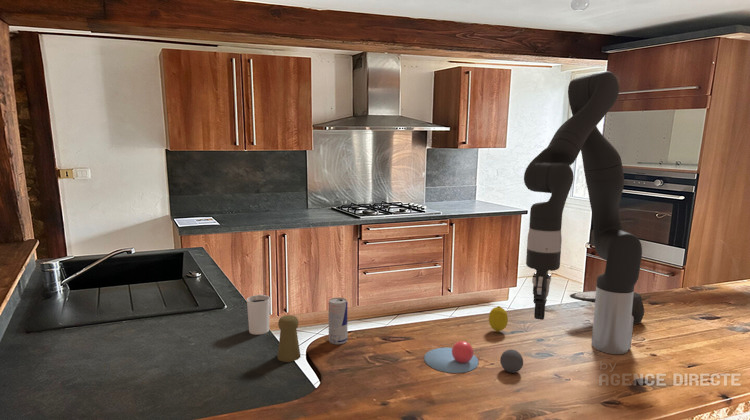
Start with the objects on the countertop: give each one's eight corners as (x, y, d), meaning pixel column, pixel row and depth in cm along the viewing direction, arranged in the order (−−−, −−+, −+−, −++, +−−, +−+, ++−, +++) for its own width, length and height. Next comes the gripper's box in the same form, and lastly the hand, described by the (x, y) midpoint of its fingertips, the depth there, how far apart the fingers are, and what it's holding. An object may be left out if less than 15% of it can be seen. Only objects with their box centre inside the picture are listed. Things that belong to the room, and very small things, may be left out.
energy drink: (350, 339, 137) (350, 299, 135) (341, 346, 132) (341, 304, 130) (334, 335, 139) (334, 296, 137) (325, 342, 134) (324, 301, 133)
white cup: (259, 337, 138) (258, 303, 136) (242, 331, 141) (241, 299, 140) (275, 329, 143) (274, 297, 142) (259, 324, 147) (258, 293, 145)
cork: (278, 351, 128) (277, 312, 127) (301, 351, 129) (300, 312, 127) (276, 362, 122) (275, 321, 121) (299, 361, 123) (299, 320, 121)
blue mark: (460, 345, 134) (460, 344, 134) (489, 367, 121) (489, 366, 121) (415, 352, 129) (415, 352, 129) (440, 376, 116) (440, 376, 116)
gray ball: (517, 346, 121) (510, 364, 122) (500, 344, 119) (492, 363, 120) (531, 358, 116) (522, 378, 118) (513, 356, 114) (505, 376, 115)
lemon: (505, 328, 146) (506, 303, 144) (508, 336, 140) (510, 310, 139) (487, 327, 146) (488, 302, 145) (489, 335, 141) (490, 309, 140)
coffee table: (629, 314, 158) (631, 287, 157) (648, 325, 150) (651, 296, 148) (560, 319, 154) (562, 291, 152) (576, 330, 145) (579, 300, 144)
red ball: (472, 339, 126) (460, 353, 128) (456, 334, 123) (444, 349, 125) (480, 354, 121) (468, 369, 123) (464, 350, 119) (452, 365, 121)
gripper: (559, 255, 104) (554, 331, 106) (562, 243, 116) (557, 311, 118) (523, 252, 107) (519, 325, 109) (530, 240, 119) (526, 307, 121)
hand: (539, 318), depth 114 cm, fingers closed
